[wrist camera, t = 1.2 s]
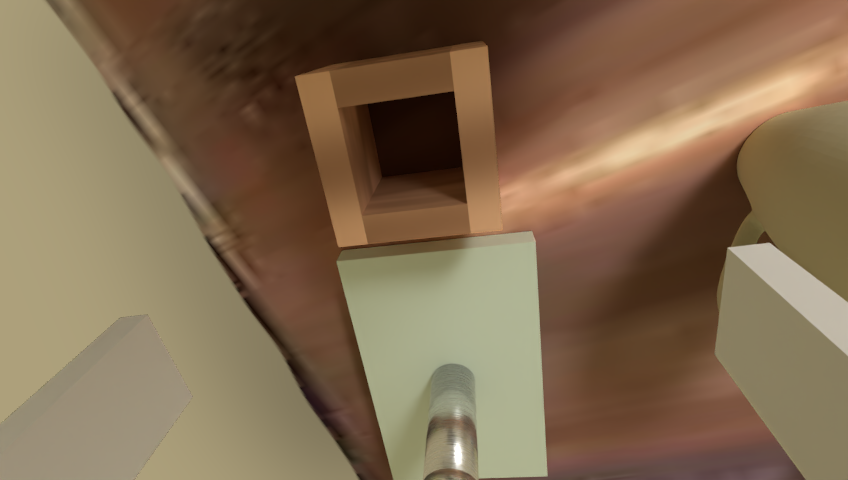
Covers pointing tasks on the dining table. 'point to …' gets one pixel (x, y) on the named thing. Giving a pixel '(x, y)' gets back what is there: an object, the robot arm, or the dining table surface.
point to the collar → (358, 160)
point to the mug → (799, 191)
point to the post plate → (452, 343)
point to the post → (452, 426)
